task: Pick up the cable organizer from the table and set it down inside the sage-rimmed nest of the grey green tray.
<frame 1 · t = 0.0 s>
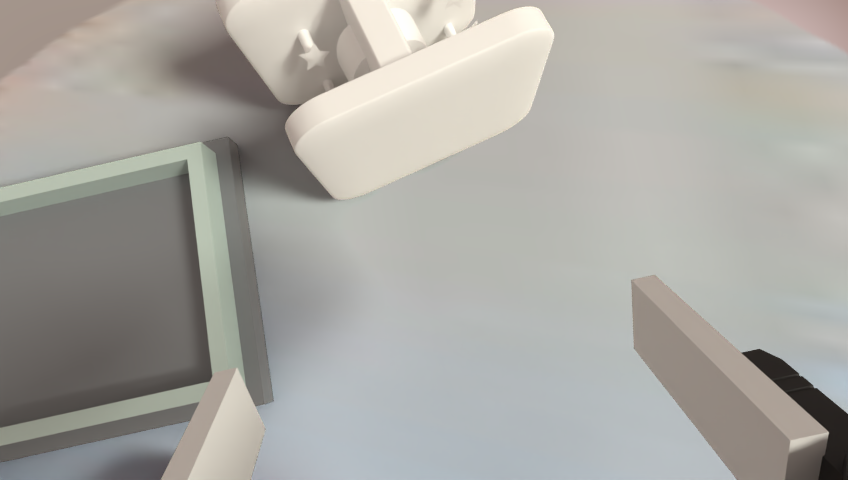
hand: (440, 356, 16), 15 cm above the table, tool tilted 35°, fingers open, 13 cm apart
cable organizer: (400, 110, 35), on the table
grey green tray: (99, 300, 33), on the table
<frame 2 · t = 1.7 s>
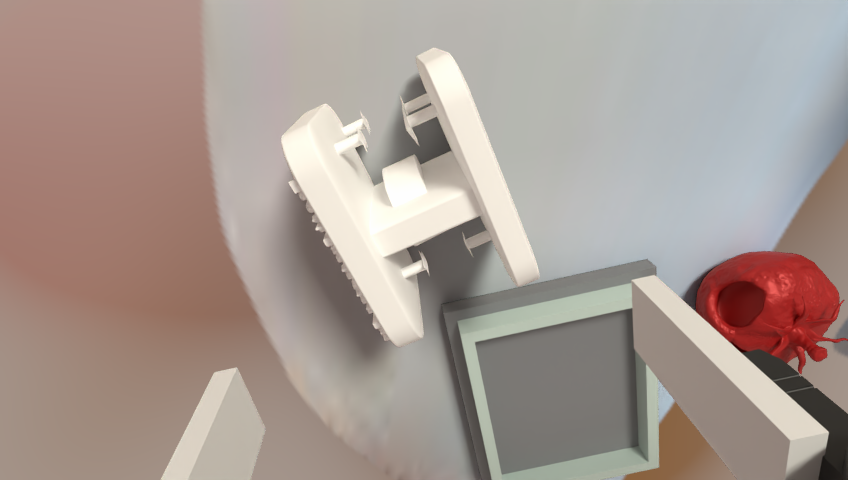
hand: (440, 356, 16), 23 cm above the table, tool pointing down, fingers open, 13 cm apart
cable organizer: (410, 171, 37), on the table
grey green tray: (556, 380, 46), on the table
red tomato: (734, 287, 43), on the table
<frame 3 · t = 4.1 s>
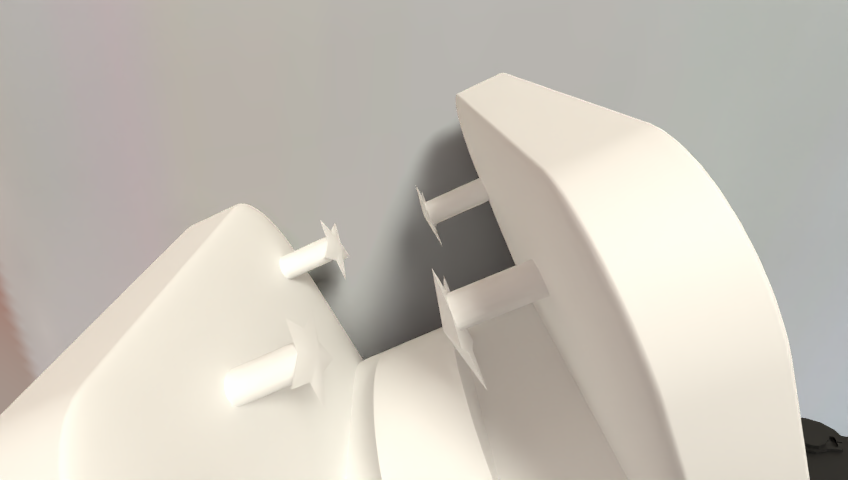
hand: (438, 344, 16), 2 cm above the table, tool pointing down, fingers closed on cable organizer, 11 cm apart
cable organizer: (433, 315, 18), on the table, touching gripper
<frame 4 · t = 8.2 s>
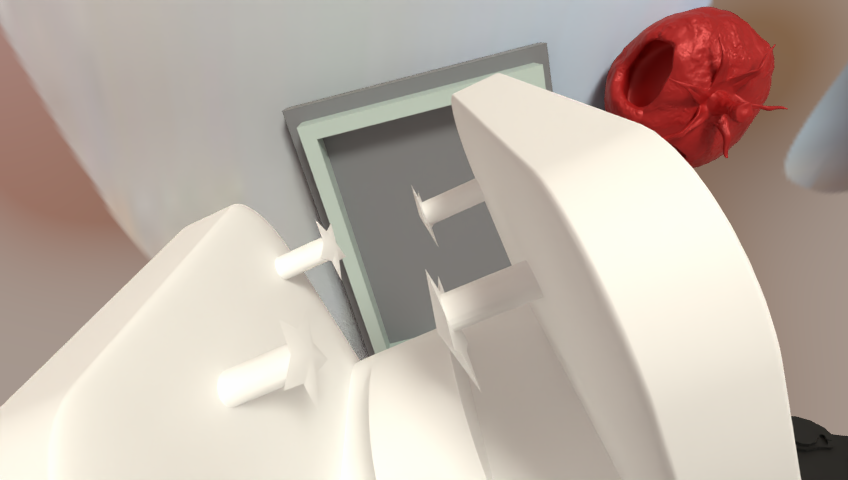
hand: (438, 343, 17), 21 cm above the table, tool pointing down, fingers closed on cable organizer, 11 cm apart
cable organizer: (430, 315, 18), point 19 cm above the table, touching gripper
grey green tray: (446, 219, 37), on the table
red tomato: (655, 86, 35), on the table
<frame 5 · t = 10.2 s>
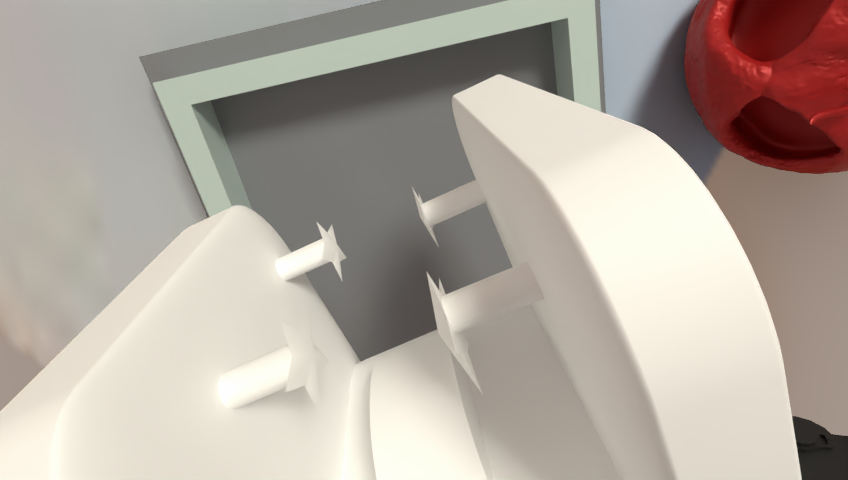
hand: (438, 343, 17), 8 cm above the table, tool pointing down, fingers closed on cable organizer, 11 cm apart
cable organizer: (431, 316, 18), point 7 cm above the table, touching gripper
grey green tray: (422, 243, 24), on the table
red tomato: (761, 41, 22), on the table
when the fingers open (4 cm above the table, at t = 12.0 s): cable organizer moves 1 cm, point 2 cm above the table.
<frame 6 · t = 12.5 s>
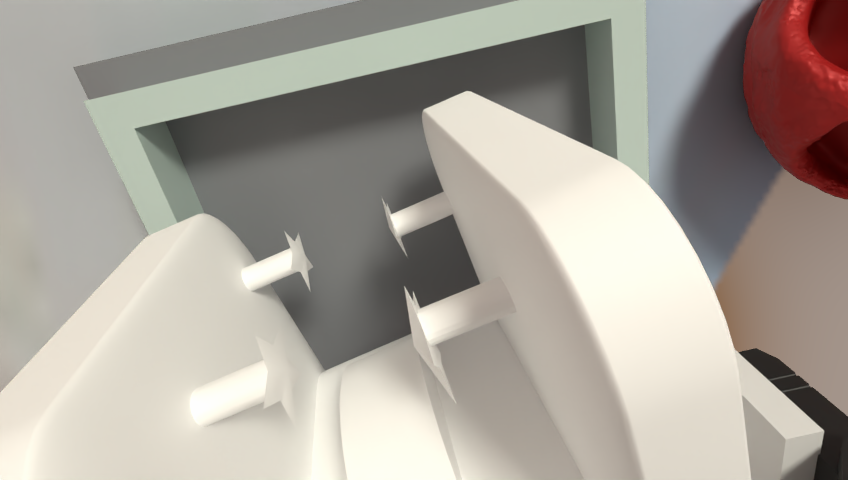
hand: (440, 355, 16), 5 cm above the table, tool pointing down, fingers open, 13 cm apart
cable organizer: (395, 324, 18), point 2 cm above the table, touching gripper
grey green tray: (425, 283, 21), on the table
red tomato: (830, 46, 18), on the table
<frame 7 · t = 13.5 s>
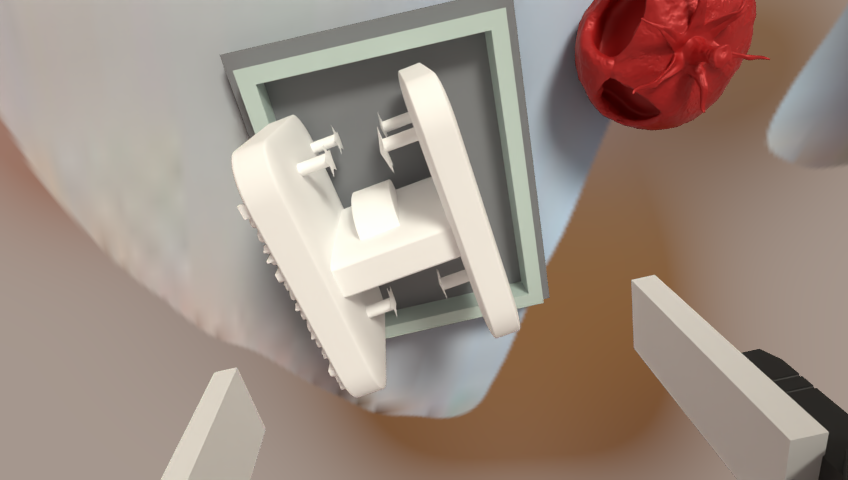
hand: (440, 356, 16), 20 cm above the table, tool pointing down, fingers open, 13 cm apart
cable organizer: (385, 194, 33), point 1 cm above the table, touching grey green tray
grey green tray: (405, 185, 35), on the table
red tomato: (630, 44, 32), on the table
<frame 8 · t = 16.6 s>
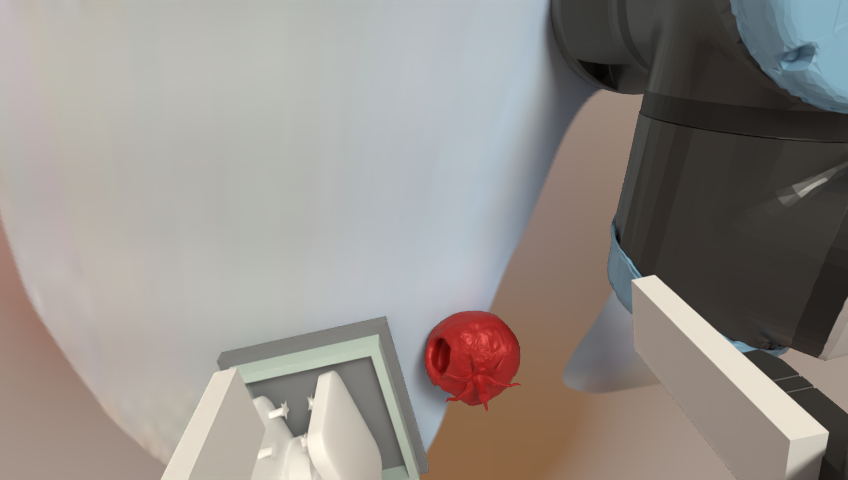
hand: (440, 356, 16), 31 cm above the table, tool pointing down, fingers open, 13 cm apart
cable organizer: (319, 422, 54), point 1 cm above the table, touching grey green tray
grey green tray: (332, 411, 55), on the table
red tomato: (466, 336, 53), on the table
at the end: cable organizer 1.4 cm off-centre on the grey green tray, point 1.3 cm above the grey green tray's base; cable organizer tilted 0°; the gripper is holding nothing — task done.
